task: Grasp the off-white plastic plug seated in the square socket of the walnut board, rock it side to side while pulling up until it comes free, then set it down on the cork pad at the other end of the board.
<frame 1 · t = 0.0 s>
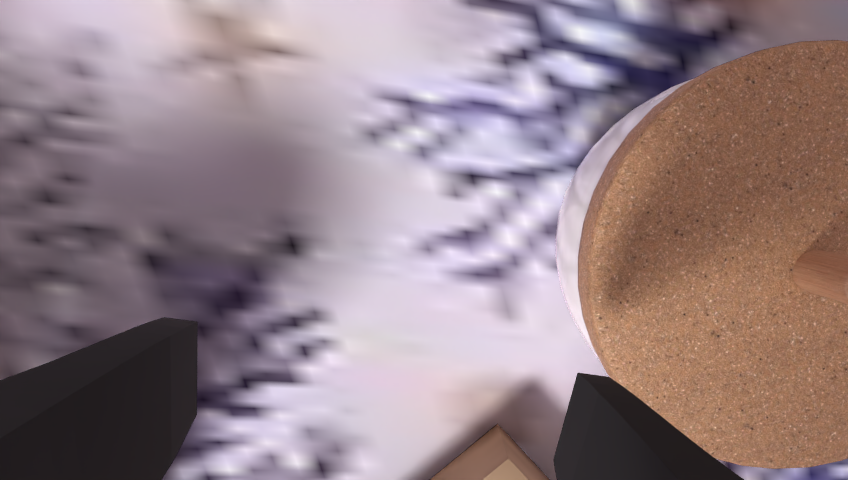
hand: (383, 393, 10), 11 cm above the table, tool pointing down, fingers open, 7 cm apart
lidded jar: (655, 228, 20), on the table
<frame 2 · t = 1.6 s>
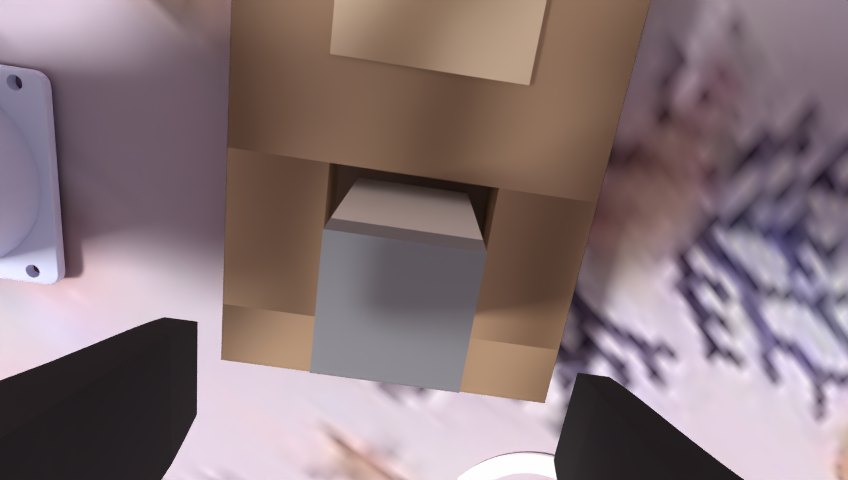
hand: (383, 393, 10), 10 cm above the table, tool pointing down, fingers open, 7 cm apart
plug: (405, 237, 19), resting on board
board: (421, 128, 18), on the table
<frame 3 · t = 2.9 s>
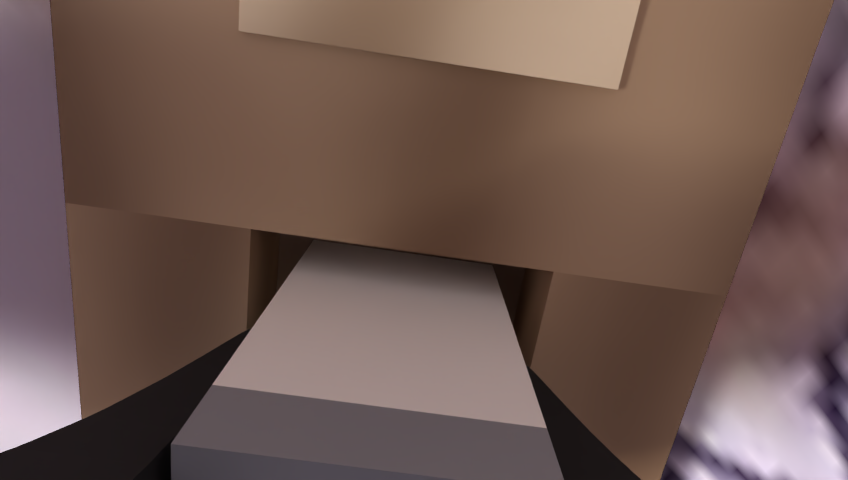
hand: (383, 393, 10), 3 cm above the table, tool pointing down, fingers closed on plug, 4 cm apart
plug: (392, 332, 12), resting on board, touching gripper
board: (416, 159, 11), on the table
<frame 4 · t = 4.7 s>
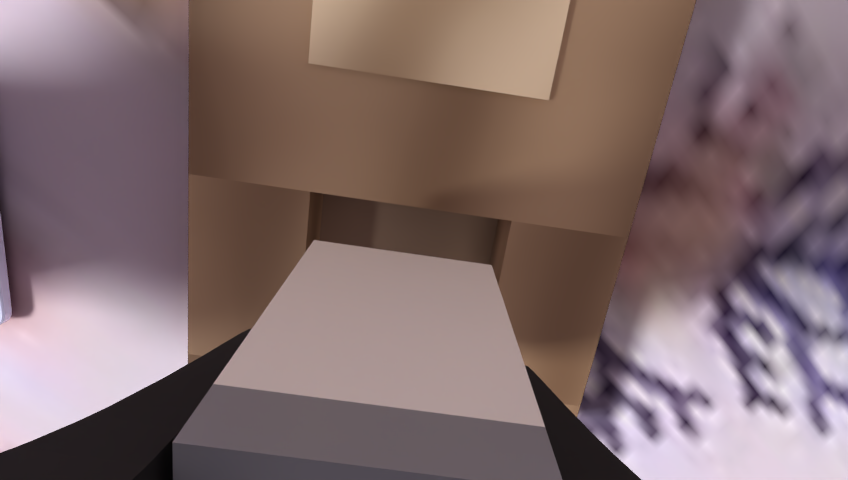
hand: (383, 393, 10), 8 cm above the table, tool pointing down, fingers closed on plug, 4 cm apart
plug: (392, 331, 12), point 5 cm above the table, touching gripper
board: (420, 147, 16), on the table
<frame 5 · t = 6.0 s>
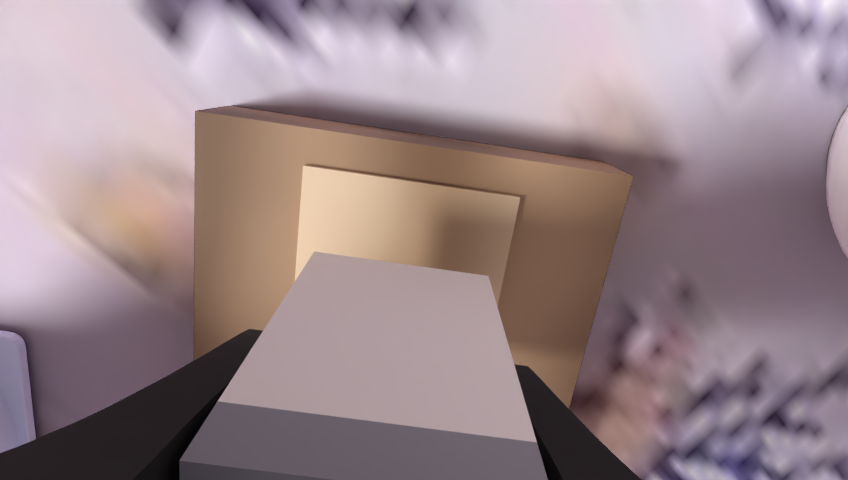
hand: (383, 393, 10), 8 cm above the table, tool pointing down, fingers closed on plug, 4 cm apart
plug: (390, 340, 12), point 6 cm above the table, touching gripper
board: (385, 376, 19), on the table
when the fingers open (6 cm above the table, at t = 6.8 s): plug stays where it is, resting on board.
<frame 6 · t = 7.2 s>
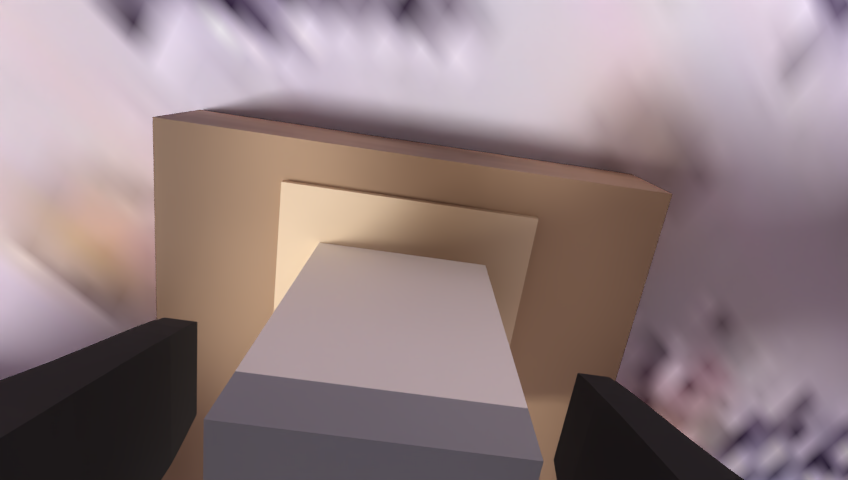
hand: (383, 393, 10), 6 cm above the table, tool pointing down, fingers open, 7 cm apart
plug: (392, 328, 13), point 3 cm above the table, touching board
board: (380, 414, 17), on the table
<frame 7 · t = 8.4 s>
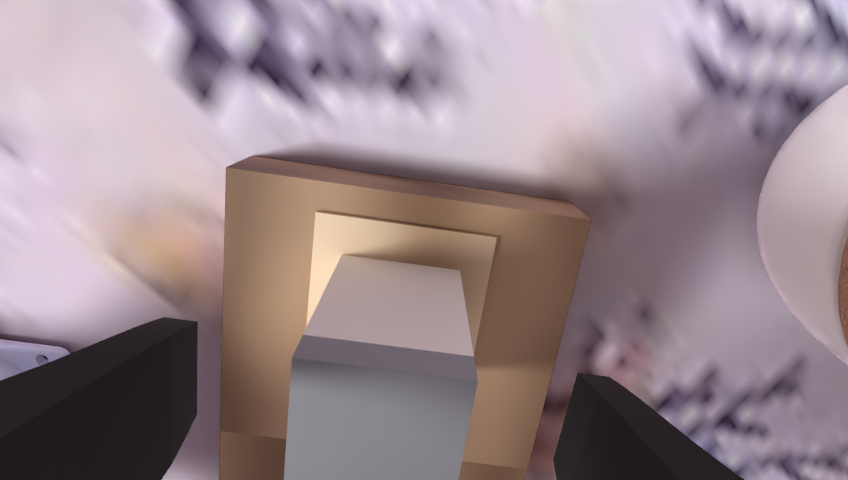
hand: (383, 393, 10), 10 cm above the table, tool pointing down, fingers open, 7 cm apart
plug: (394, 315, 18), point 3 cm above the table, touching board
lidded jar: (842, 186, 19), on the table
board: (384, 385, 22), on the table
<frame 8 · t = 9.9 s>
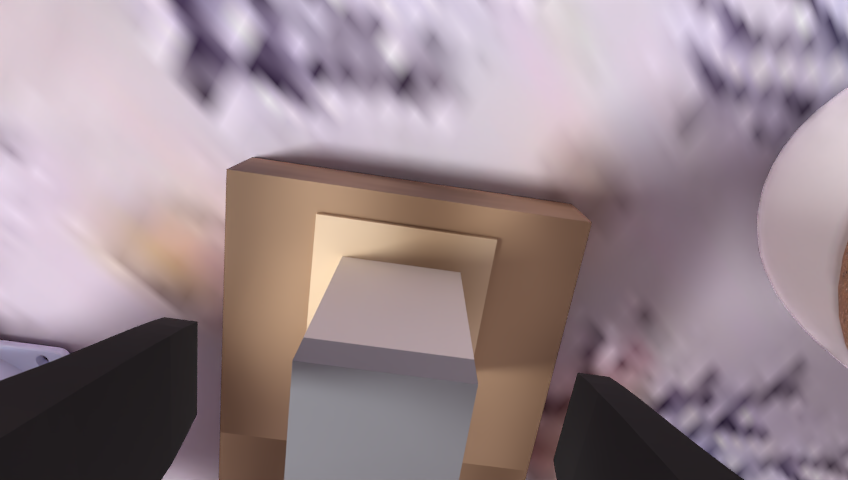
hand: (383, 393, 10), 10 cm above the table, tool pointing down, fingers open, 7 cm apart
plug: (394, 317, 18), point 3 cm above the table, touching board
lidded jar: (842, 189, 19), on the table
board: (384, 386, 22), on the table
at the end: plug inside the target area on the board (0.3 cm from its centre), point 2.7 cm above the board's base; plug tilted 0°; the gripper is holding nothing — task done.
